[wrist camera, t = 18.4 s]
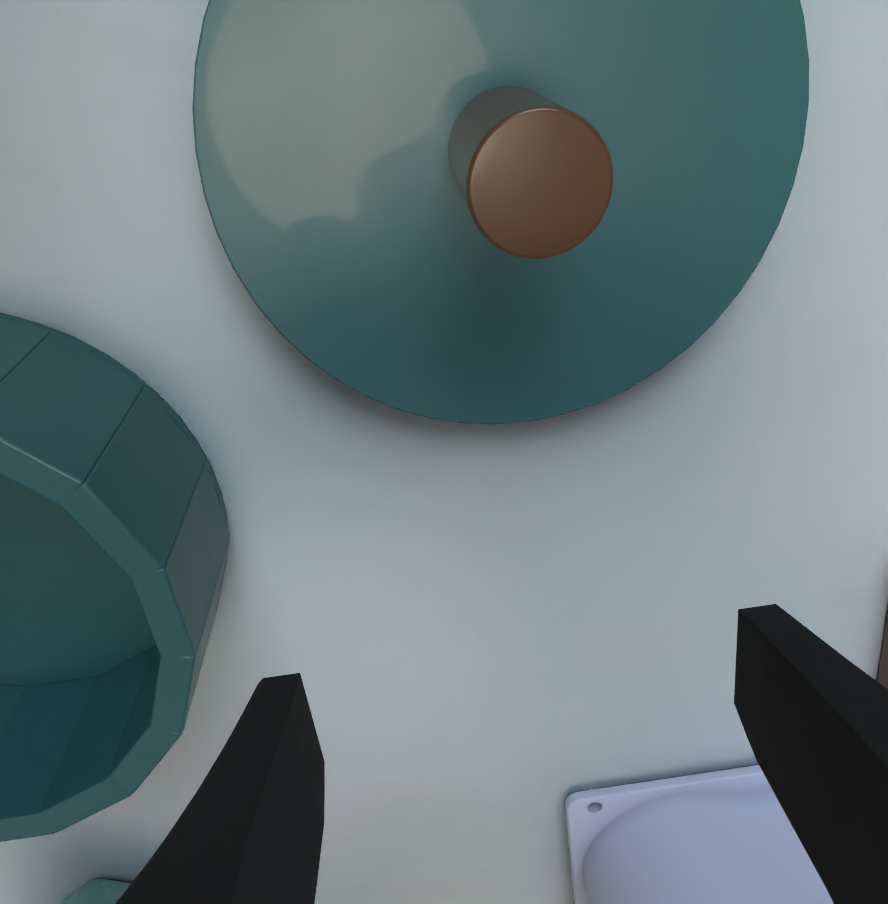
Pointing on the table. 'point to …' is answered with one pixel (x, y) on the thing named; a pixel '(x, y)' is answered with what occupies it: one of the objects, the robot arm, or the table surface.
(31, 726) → the tin
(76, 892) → the flower pot
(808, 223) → the table surface
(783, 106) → the tin lid
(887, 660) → the button block
